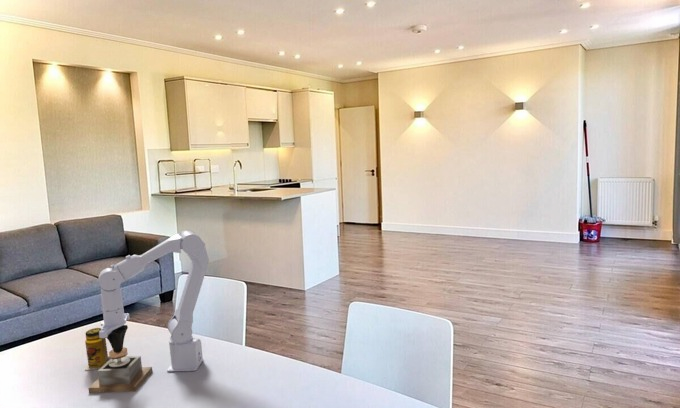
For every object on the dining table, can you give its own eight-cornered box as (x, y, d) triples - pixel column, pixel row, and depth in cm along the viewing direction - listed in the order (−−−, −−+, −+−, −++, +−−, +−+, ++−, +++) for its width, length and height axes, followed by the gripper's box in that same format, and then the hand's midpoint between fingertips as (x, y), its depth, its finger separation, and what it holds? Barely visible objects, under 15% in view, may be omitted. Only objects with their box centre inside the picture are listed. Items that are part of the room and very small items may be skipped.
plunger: (133, 357, 148) (132, 346, 148) (124, 366, 143) (123, 355, 142) (114, 358, 149) (113, 346, 148) (104, 367, 143) (103, 355, 142)
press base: (152, 371, 152) (150, 353, 151) (135, 391, 140) (133, 372, 139) (109, 372, 153) (107, 355, 152) (88, 392, 141) (86, 373, 140)
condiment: (85, 371, 155) (80, 336, 153) (90, 359, 163) (85, 326, 161) (109, 366, 157) (105, 332, 155) (113, 356, 165) (109, 323, 163)
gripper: (112, 300, 151) (116, 341, 152) (86, 317, 136) (92, 362, 138) (133, 299, 150) (138, 340, 152) (110, 316, 136) (116, 361, 138)
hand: (118, 350), depth 145 cm, fingers closed
